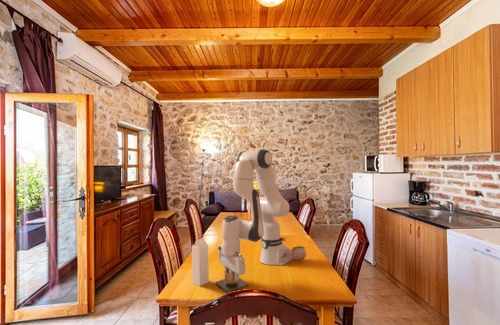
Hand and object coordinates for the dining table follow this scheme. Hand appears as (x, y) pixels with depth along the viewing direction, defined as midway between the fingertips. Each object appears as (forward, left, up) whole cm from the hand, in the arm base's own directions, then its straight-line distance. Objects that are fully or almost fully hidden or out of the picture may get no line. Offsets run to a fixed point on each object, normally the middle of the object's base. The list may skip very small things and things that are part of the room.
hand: (231, 277), depth 125 cm
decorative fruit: (-48, -1, -4) cm, 48 cm away
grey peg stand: (0, 0, -4) cm, 4 cm away
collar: (0, 0, -2) cm, 2 cm away
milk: (+11, -12, -4) cm, 17 cm away
